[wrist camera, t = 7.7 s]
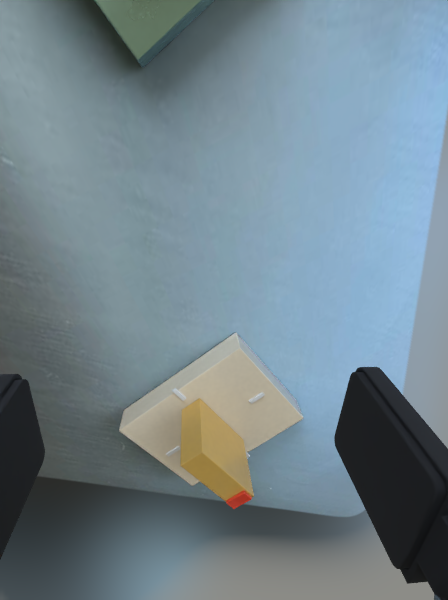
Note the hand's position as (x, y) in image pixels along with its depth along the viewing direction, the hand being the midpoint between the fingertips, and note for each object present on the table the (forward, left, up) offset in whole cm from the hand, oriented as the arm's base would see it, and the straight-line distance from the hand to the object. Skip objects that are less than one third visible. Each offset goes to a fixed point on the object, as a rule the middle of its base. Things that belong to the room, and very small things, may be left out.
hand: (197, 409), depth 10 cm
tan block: (+8, +13, -14) cm, 21 cm away
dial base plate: (+8, +13, -17) cm, 23 cm away
